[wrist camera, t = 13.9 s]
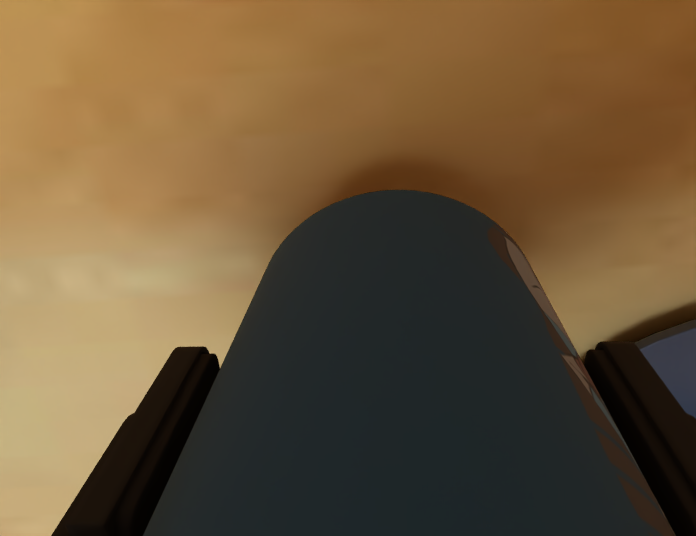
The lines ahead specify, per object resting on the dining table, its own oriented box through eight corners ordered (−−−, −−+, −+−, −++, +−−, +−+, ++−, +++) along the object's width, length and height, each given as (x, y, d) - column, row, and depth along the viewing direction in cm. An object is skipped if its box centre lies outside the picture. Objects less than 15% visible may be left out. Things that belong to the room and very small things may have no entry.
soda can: (231, 333, 15) (-160, 1148, 4) (340, 120, 12) (-61, 1064, 1) (435, 427, 16) (528, 1266, 5) (582, 253, 13) (1457, 1368, 2)
